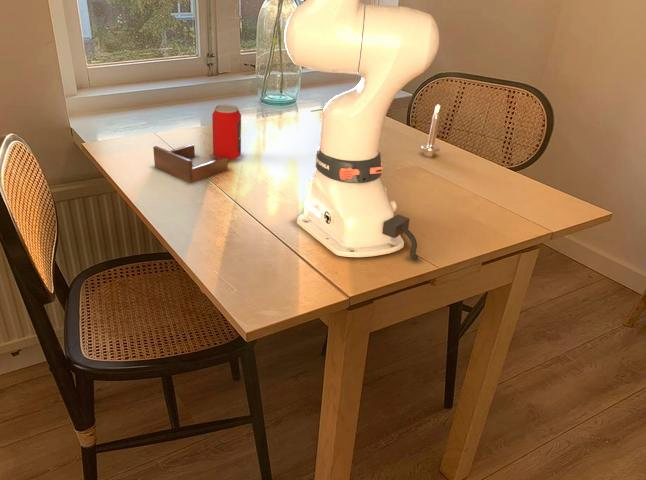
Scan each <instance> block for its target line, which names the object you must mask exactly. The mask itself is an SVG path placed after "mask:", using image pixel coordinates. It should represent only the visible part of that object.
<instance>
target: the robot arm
mask: <svg viewBox="0 0 646 480" xmlns="http://www.w3.org/2000/svg"><path fill="white" fill-rule="evenodd" d="M301 1H303V2H302V3H301V4H299V5H298V6H296V7H295V9H294V10H293V11H292V12H291V14H290V16H289V17H288V19H287V21H286V25H285V29H284V45H285V46H284V47H285V49H286V52H287V54H288V56H289V58H290V60H291V61H292V62H293V64H294V65H296V66H299V67H302V68H305V69H308V70H312V71H316V72H320V73H331V74H334V73H335V74H346V75H347V74H348V75H357V76H360V77H361V79H360V81H359V82H358V84H357V85H356V86H354V87H352V88H351V89H350V90H346V91H345V92H341V93H340V94H338V95H335V96H334V97H332V98H331V99H330V100H329V101H327V102H326V103H325V105H324V108H323V110H322V113H321V125H320V139H319V146H318V147H317V149H316V154H315V168H316V170H315V172H314V174H313V176H312V177H311V178H310V179H309V181H308V182H307V187H306V188H307V189H306V192H305V193H306V194H305V201H304V204H303V205H304V208H303V213H302V214H299V216H297V218H296V224H297V225H298V226H300V228H302V229H303V230H304V231H305V232H306V233H308V234H309V235H311V236H312V238H314V239H316V241H318V242H319V243H321V244H322V245H323V246H324V247H325V248H327V250H328V251H330V252H332V254H334V255H336V256H338V257H345V258H368V257H370V258H371V257H376V256H383V255H389V254H391V253H395V252H397V251H400V250H401V249H403V248H404V247H405V241H404V239H403V237H402V236H401V235H402V234H404V235H406V237H407V238H408V239H409V241H410V243H411V248H410V252H409V253H410V254H409V255H410V257H411V259H412V260H413V261H417V260H418V259H419V255H418V254H417V253H416V252H417V248H418V242H417V239H416V237H415V235H414V234H413V233H412V232H411V231H410V230H409V227H410V226H409V225H410V220H411V218H409V217H407V216H405V215H403V214H399V213H397V214H395V213H396V211H397V202H396V200H390V198H389V197H388V189H387V187H386V186H385V185H384V183H383V180H382V178H381V176H382V174H383V171H382V169H384V167H383V166H382V165H383V163H382V157H381V155H382V154H381V152H380V146H381V141H382V140H381V139H382V134H383V129H384V124H385V120H386V117H387V114H388V111H389V109H390V107H391V104H392V103H393V101H394V99H396V97H397V95H398V94H399V93H400V92H401V91H402V90H403V88H404V87H406V85H408V83H410V82H411V81H412V80H414V79H416V77H418V76H420V75H422V74H423V73H425V72H426V71H427V70H428V69H429V68H430V66H432V64H433V62H434V60H435V59H436V57H437V54H438V51H439V47H440V31H439V27H438V25H437V22H436V20H435V18H434V17H433V16H432V15H431V13H428V12H425V11H422V10H419V9H415V8H411V7H408V6H403V5H402V6H401V5H385V4H371V3H370V4H369V3H364V2H362V1H361V0H301Z"/></svg>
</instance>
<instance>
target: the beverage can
mask: <svg viewBox="0 0 646 480" xmlns="http://www.w3.org/2000/svg"><path fill="white" fill-rule="evenodd" d="M211 115H212V119H211V122H212V123H211V124H212V126H211V127H212V155H213V156H214V157H215V158H216V159H220V158H223V157H226V158H227V162H228V161H229V162H230V161H234V160H236V159H237V158H239V157H240V156H241V155H242V114H241V112H240V110H239V107H238V106H237V105H234V104H218V105H216V106H215V107H214V110H213V112H212V114H211Z"/></svg>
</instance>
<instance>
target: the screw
mask: <svg viewBox="0 0 646 480" xmlns="http://www.w3.org/2000/svg"><path fill="white" fill-rule="evenodd" d="M441 108H442V106H441V105H440V104H436V105H435V106H434V111H433V115H432V118H431V124H430V128H429V134H428V138H427V142H426V143H422V144H420V149H421V150H423V155H424V156H425V157H429V158H432V157H435V154H436V152H439V151H440V150H441V148H440V146H439V145H438V144H436V140H437V133H438V130H439V129H438V128H439V123H440V122H439V121H440V119H441V118H440V117H441V115H440V113H441Z"/></svg>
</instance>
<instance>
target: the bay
mask: <svg viewBox="0 0 646 480" xmlns="http://www.w3.org/2000/svg"><path fill="white" fill-rule="evenodd" d="M152 148H153V150H152V151H153V161H154V168H155V169H157V170H160V172H161V171H162V172H164V173H166V174H168V175H170V176H173V177H175V178H177V179H180V180H181V181H183V182H187V183H189V184H192V183H194V182H197V181H200V180H203V179H207V178H209V177H212V176H215V175H217V174H220V173H222V172H225V171H228V161H227V158H226V157H223V158H220V159H218V158H216V159H213V160H210V161H208V162H205V163H201V164H198V165H195V166H193V160H191V159H192V158H195V157H196V154H195V153H196V152H195V144H193V143H192V144H188V145H184V146H181V147H178V148H174V149H170V150H167V149H165V148H162V147H160V146H158V145H155V146H153V147H152Z"/></svg>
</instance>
